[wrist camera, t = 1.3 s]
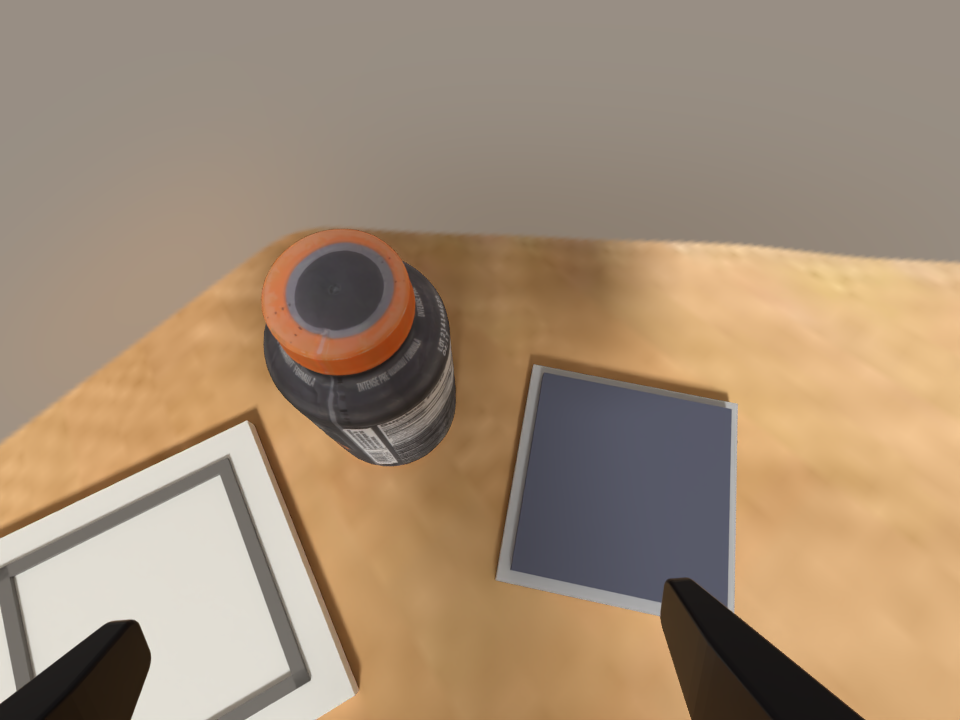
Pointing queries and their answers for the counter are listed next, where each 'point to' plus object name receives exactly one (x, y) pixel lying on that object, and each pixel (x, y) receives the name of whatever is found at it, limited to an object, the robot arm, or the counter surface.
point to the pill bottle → (360, 345)
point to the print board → (181, 589)
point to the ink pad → (621, 492)
